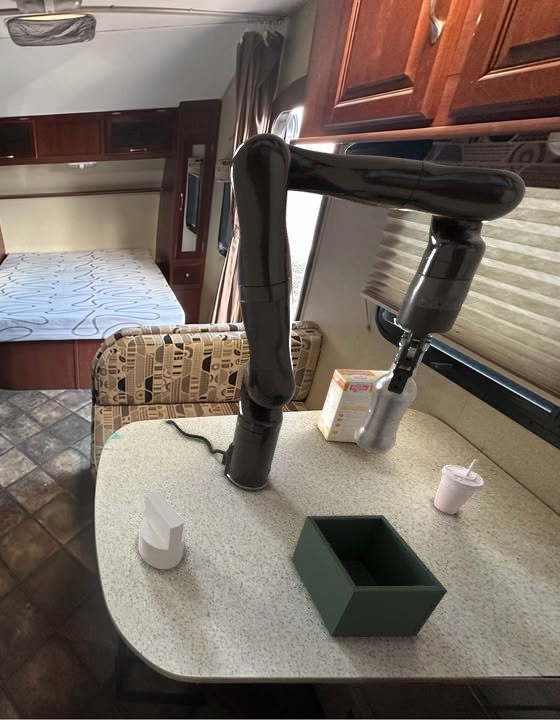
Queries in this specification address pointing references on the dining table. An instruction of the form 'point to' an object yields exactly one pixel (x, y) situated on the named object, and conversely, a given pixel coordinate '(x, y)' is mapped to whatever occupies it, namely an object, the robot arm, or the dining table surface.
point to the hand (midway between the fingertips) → (396, 384)
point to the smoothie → (457, 487)
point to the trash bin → (365, 577)
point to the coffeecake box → (347, 403)
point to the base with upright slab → (161, 533)
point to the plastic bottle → (385, 413)
